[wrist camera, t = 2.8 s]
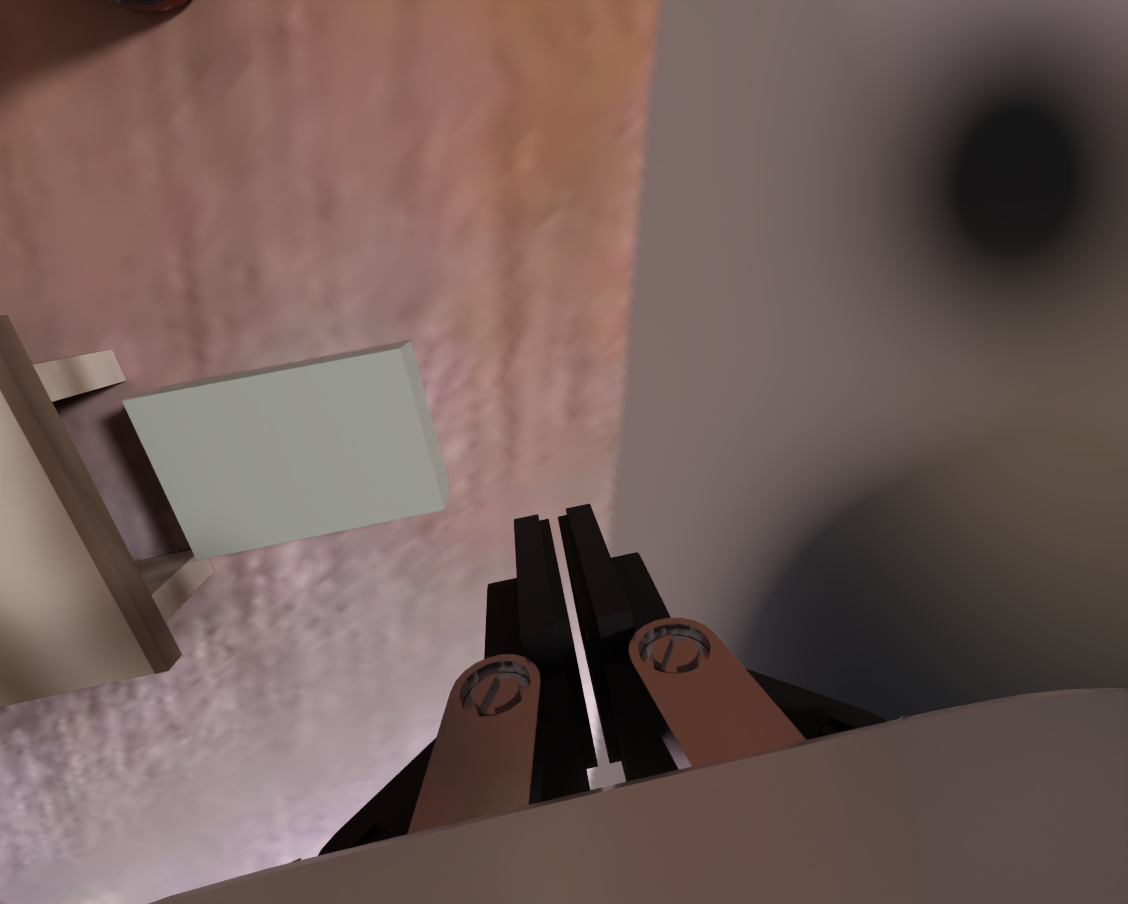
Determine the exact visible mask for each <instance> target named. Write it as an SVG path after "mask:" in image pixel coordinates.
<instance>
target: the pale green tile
mask: <svg viewBox="0 0 1128 904" xmlns="http://www.w3.org/2000/svg"><path fill="white" fill-rule="evenodd" d="M122 402H123V404H124V406H125V409H126V411H127V413H128V415H129V417H130V419H131V421H132V424H133V426H134V428H135V430H136V432H137V434H138V436H139V438H140V441H141V443H142V445H143V447H144V449H145V451H146V453H147V456H148V458H149V460H150V462H151V464H152V466H153V468H154V470H155V473H156V475H157V477H158V479H159V481H160V483H161V485H162V488H163V490H164V492H165V494H166V496H167V498H168V500H169V502H170V505H171V507H172V509H173V511H174V513H175V515H176V517H177V520H178V522H179V524H180V526H181V528H182V530H183V532H184V534H185V537H186V539H187V541H188V543H189V545H190V547H191V549H192V552H193V554H194V556H195V558H196V560H197V561H198V560H202V559H207V558H212V557H217V556H222V555H227V554H232V553H237V552H241V551H246V550H251V549H256V548H261V547H266V546H271V545H275V544H280V543H285V542H290V541H295V540H300V539H305V538H309V537H314V536H319V535H324V534H329V533H334V532H339V531H344V530H348V529H353V528H358V527H363V526H368V525H373V524H378V523H382V522H387V521H392V520H397V519H402V518H407V517H412V516H417V515H421V514H426V513H431V512H436V511H441V510H444V509H445V505H446V501H447V496H448V492H449V488H450V485H449V482H448V478H447V474H446V471H445V467H444V463H443V459H442V456H441V452H440V448H439V444H438V441H437V437H436V433H435V429H434V426H433V422H432V418H431V414H430V411H429V407H428V403H427V399H426V396H425V392H424V388H423V384H422V381H421V377H420V373H419V369H418V366H417V362H416V358H415V354H414V351H413V347H412V343H411V340H410V341H405V342H399V343H394V344H389V345H383V346H378V347H373V348H367V349H362V350H357V351H351V352H346V353H341V354H335V355H330V356H325V357H320V358H314V359H309V360H304V361H298V362H293V363H288V364H282V365H277V366H272V367H266V368H261V369H256V370H250V371H245V372H240V373H234V374H229V375H224V376H218V377H213V378H208V379H202V380H197V381H192V382H186V383H181V384H176V385H170V386H165V387H162V388H159V389H156V390H153V391H150V392H147V393H144V394H141V395H138V396H135V397H132V398H129V399H126V400H123V401H122Z"/></svg>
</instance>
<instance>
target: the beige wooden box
mask: <svg viewBox="0 0 1128 904" xmlns="http://www.w3.org/2000/svg"><path fill="white" fill-rule="evenodd" d="M123 381H126V379H125V376H124V374H123V372H122V370H121V368H120V366H119V363H118V361H117V359H116V357H115V355H114V352H113V350H106V351H101V352H95V353H90V354H84V355H79V356H74V357H68V358H63V359H57V360H52V361H46V362H41V363H35V364H32V362H31V360H30V359H29V357H28V355H27V353H26V351H25V349H24V347H23V345H22V343H21V341H20V339H19V337H18V335H17V333H16V331H15V329H14V327H13V326H12V324H11V322H10V320H9V318H8V316H7V315H4V316H0V707H1V706H5V705H10V704H15V703H19V702H24V701H29V700H33V699H38V698H43V697H47V696H52V695H56V694H61V693H66V692H70V691H75V690H80V689H84V688H89V687H94V686H98V685H103V684H107V683H112V682H117V681H121V680H126V679H131V678H135V677H140V676H144V675H149V674H154V673H155V674H157V673H161V672H166V671H169V670H170V668H171V667H172V666H173V665H174V664H175V662H176V661H177V660H178V659H179V658H180V657H181V655H182V654H181V652H180V650H179V648H178V646H177V644H176V642H175V640H174V638H173V636H172V634H171V632H170V630H169V628H168V626H167V624H166V623H165V622H166V621H167V620H168V619H169V618H170V617H171V616H172V615H173V614H174V612H175V611H176V610H177V609H178V608H179V607H180V606H181V605H182V604H183V603H184V602H185V601H186V600H187V599H188V598H189V597H190V596H191V595H192V594H193V593H194V592H195V591H196V590H197V589H198V588H199V586H200V585H201V584H202V583H203V582H204V581H205V580H206V579H207V578H208V577H209V576H210V575H211V574H212V573H213V572H214V570H213V568H212V566H211V564H210V561H209V559H208V558H207V559H202V560H198V561H197V560H196V558H195V556H194V554H193V552H192V550H189V551H184V552H179V553H174V554H169V555H164V556H159V557H154V558H149V559H145V560H140V561H135V562H134V560H133V558H132V557H131V555H130V553H129V551H128V549H127V547H126V545H125V543H124V541H123V539H122V537H121V535H120V533H119V531H118V529H117V527H116V525H115V524H114V522H113V520H112V518H111V516H110V514H109V512H108V510H107V508H106V506H105V504H104V502H103V500H102V498H101V496H100V494H99V492H98V491H97V489H96V487H95V485H94V483H93V481H92V479H91V477H90V475H89V473H88V471H87V469H86V467H85V465H84V463H83V461H82V459H81V458H80V456H79V454H78V452H77V450H76V448H75V446H74V444H73V442H72V440H71V438H70V436H69V434H68V432H67V430H66V428H65V426H64V425H63V423H62V421H61V419H60V417H59V415H58V413H57V411H56V409H55V407H54V405H53V403H52V402H53V401H56V400H60V399H63V398H67V397H70V396H74V395H78V394H81V393H85V392H88V391H92V390H95V389H99V388H102V387H106V386H109V385H113V384H116V383H120V382H123Z"/></svg>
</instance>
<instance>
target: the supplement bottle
mask: <svg viewBox="0 0 1128 904" xmlns="http://www.w3.org/2000/svg"><path fill="white" fill-rule="evenodd" d="M109 1H111V2H113V3H116V4H119V5H121V6H123V7H126V8H130V9H133V10H136V11H144V12H162V11H167V10H170V9H174V8H176V7H179V6H181V5H182V4H184V3H185V2H187V1H188V0H109Z"/></svg>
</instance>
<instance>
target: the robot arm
mask: <svg viewBox="0 0 1128 904" xmlns="http://www.w3.org/2000/svg"><path fill="white" fill-rule="evenodd" d="M566 513H567V515H564V516H559V517H558V521H559V526H560V531H561V536H562V541H563V546H564V551H565V557H566V562H567V567H568V572H569V577H570V582H571V587H572V592H573V597H574V603H575V608H576V613H577V618H578V623H579V628H580V632H581V637H582V641H583V646H584V650H585V655H586V659H587V664H588V668H589V673H590V677H591V682H592V686H593V691H594V695H595V700H596V704H597V709H598V713H599V718H600V722H601V727H602V731H603V735H604V740H605V744H606V749H607V753H608V758H609V762H610V763H614V762H619V761H621V762H622V766H623V770H624V774H625V778H626V782H624V783H619V784H616V785H611V786H607V787H603V788H598V789H594V790H590V787H589V781H588V775H587V770H586V769H589V768H593V767H597V766H598V764H597V758H596V753H595V748H594V743H593V738H592V733H591V728H590V723H589V718H588V713H587V708H586V703H585V698H584V693H583V688H582V683H581V678H580V673H579V668H578V662H577V657H576V652H575V647H574V642H573V637H572V632H571V627H570V622H569V617H568V612H567V607H566V602H565V598H564V593H563V588H562V583H561V578H560V573H559V568H558V563H557V558H556V553H555V548H554V543H553V538H552V533H551V528H550V523H549V519H545V520H540V521H539V517H538V514H537V515H532V516H528V517H523V518H518V519H514V532H515V551H516V570H517V578H514V579H509V580H505V581H500V582H495V583H490V584H488V588H487V610H486V634H485V657H484V660H482V661H479V662H477V663H475V664H474V665H472V666H471V667H470V668H468V669H467V670H465V671H464V672H463V673H462V675H461V676H460V677H459V678H458V679H457V680H456V682H455V684H454V686H453V688H452V690H451V692H450V695H449V698H448V701H447V705H446V708H445V711H444V715H443V718H442V721H441V725H440V728H439V731H438V734H437V737H436V738H435V739H434V740H433V741H432V742H431V743H430V744H429V745H428V746H427V747H426V748H425V749H424V750H423V751H422V752H421V753H420V754H419V755H417V756H416V757H415V758H414V759H413V760H412V761H411V762H410V763H409V764H408V765H407V766H406V767H405V768H404V769H403V770H402V771H401V772H400V773H399V774H397V775H396V776H395V777H394V778H393V779H392V780H391V781H390V782H389V783H388V784H387V785H386V786H385V787H384V788H383V789H382V790H381V791H380V792H379V793H378V794H376V795H375V796H374V797H373V798H372V799H371V800H370V801H369V802H368V803H367V804H366V805H365V806H364V807H363V808H362V809H361V810H360V811H359V812H358V813H356V814H355V815H354V816H353V817H352V818H351V819H350V820H349V821H348V822H347V823H346V824H345V825H344V826H343V827H342V828H341V829H340V830H339V831H338V832H337V833H335V835H334V836H333V837H332V838H331V839H330V840H329V841H328V843H327V844H326V845H325V846H324V847H323V848H322V849H321V851H320V853H319V854H318V856H316V857H312V858H308V859H304V860H301V858H299V859H297V860H295V861H293V862H291V863H288V864H284V865H280V866H276V867H272V868H268V869H264V870H261V871H257V872H254V873H250V874H247V875H243V876H239V877H236V878H232V879H229V880H225V881H222V882H218V883H215V884H211V885H208V886H204V887H201V888H197V889H193V890H190V891H186V892H183V893H179V894H176V895H172V896H169V897H166V898H163V899H160V900H158V901H155V902H152V903H149V904H1128V689H1069V690H1060V691H1050V692H1041V693H1032V694H1023V695H1018V696H1013V697H1007V698H1002V699H997V700H991V701H986V702H981V703H975V704H970V705H965V706H959V707H954V708H948V709H944V710H938V711H933V712H929V713H925V714H920V715H916V716H902V717H901V719H898V720H894V721H889V722H887V721H885V720H884V719H883V718H881V717H879V716H877V715H875V714H872V713H870V712H868V711H866V710H864V709H861V708H857V707H854V706H852V705H849V704H846V703H843V702H840V701H838V700H835V699H832V698H829V697H826V696H823V695H820V694H817V693H815V692H812V691H808V690H806V689H803V688H800V687H797V686H794V685H792V684H789V683H786V682H783V681H780V680H777V679H774V678H771V677H769V676H765V675H762V674H760V673H757V672H754V671H751V670H748V669H745V668H744V667H743V666H742V664H741V663H740V662H739V661H738V660H737V658H735V656H734V655H733V654H732V653H731V652H730V650H729V649H728V648H727V647H726V646H725V645H724V643H723V642H722V641H721V640H720V639H719V638H718V636H717V635H716V634H715V633H714V632H713V631H711V630H710V629H709V628H708V627H707V626H705V625H703V624H701V623H699V622H697V621H694V620H690V619H685V618H671V617H670V615H669V613H668V611H667V609H666V607H665V605H664V603H663V601H662V599H661V597H660V595H659V593H658V591H657V589H656V587H655V585H654V583H653V581H652V579H651V577H650V575H649V573H648V571H647V568H646V566H645V565H644V562H643V561H642V559H641V556H640V555H639V553H631V554H627V555H622V556H618V557H612V558H611V557H610V554H609V552H608V549H607V547H606V544H605V541H604V539H603V536H602V534H601V531H600V529H599V526H598V523H597V521H596V518H595V516H594V513H593V511H592V508H591V505H590V504H586V505H581V506H576V507H571V508H566Z"/></svg>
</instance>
